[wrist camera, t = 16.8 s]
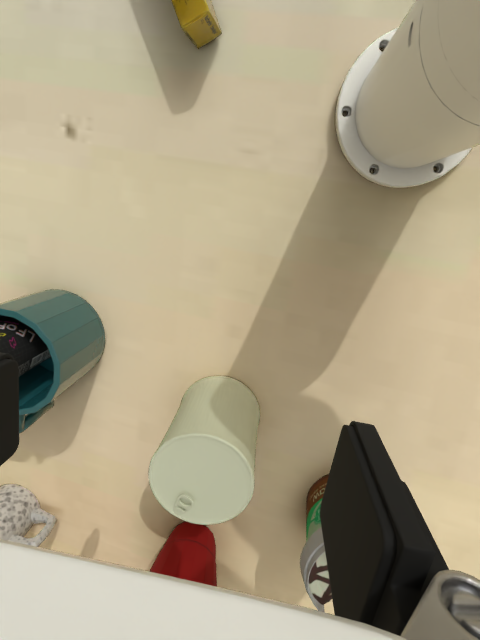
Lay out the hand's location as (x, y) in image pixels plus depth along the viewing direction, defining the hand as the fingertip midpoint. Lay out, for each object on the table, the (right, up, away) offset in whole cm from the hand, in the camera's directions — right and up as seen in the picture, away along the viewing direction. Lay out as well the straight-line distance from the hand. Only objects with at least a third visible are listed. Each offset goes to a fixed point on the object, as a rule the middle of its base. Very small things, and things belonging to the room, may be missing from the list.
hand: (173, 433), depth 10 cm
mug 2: (-26, -22, +38) cm, 51 cm away
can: (0, -7, +32) cm, 33 cm away
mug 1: (-19, 0, +31) cm, 36 cm away
